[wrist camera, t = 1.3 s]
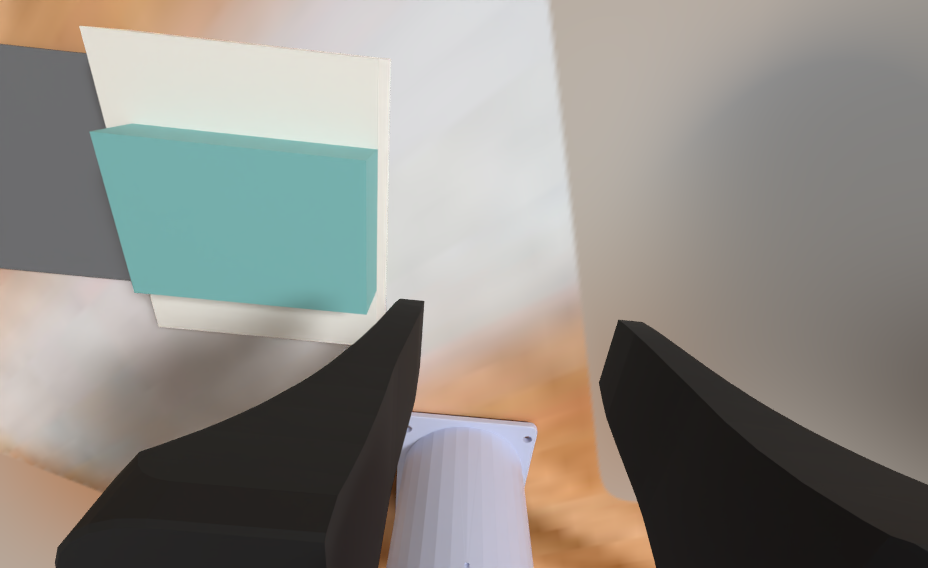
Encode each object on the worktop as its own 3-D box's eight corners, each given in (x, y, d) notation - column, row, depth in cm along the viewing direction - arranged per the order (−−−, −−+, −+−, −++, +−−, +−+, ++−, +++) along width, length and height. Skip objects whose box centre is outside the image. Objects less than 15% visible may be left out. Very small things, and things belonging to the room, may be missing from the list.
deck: (385, 318, 23) (376, 347, 20) (189, 300, 22) (158, 326, 20) (390, 58, 17) (378, 59, 15) (131, 29, 17) (79, 25, 15)
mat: (175, 281, 22) (172, 284, 22) (-72, 258, 22) (-79, 260, 21) (124, 57, 17) (119, 57, 17) (-191, 22, 17) (-202, 22, 17)
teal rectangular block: (376, 290, 19) (366, 314, 17) (166, 270, 19) (134, 292, 17) (377, 149, 16) (366, 160, 15) (132, 123, 16) (89, 131, 14)
